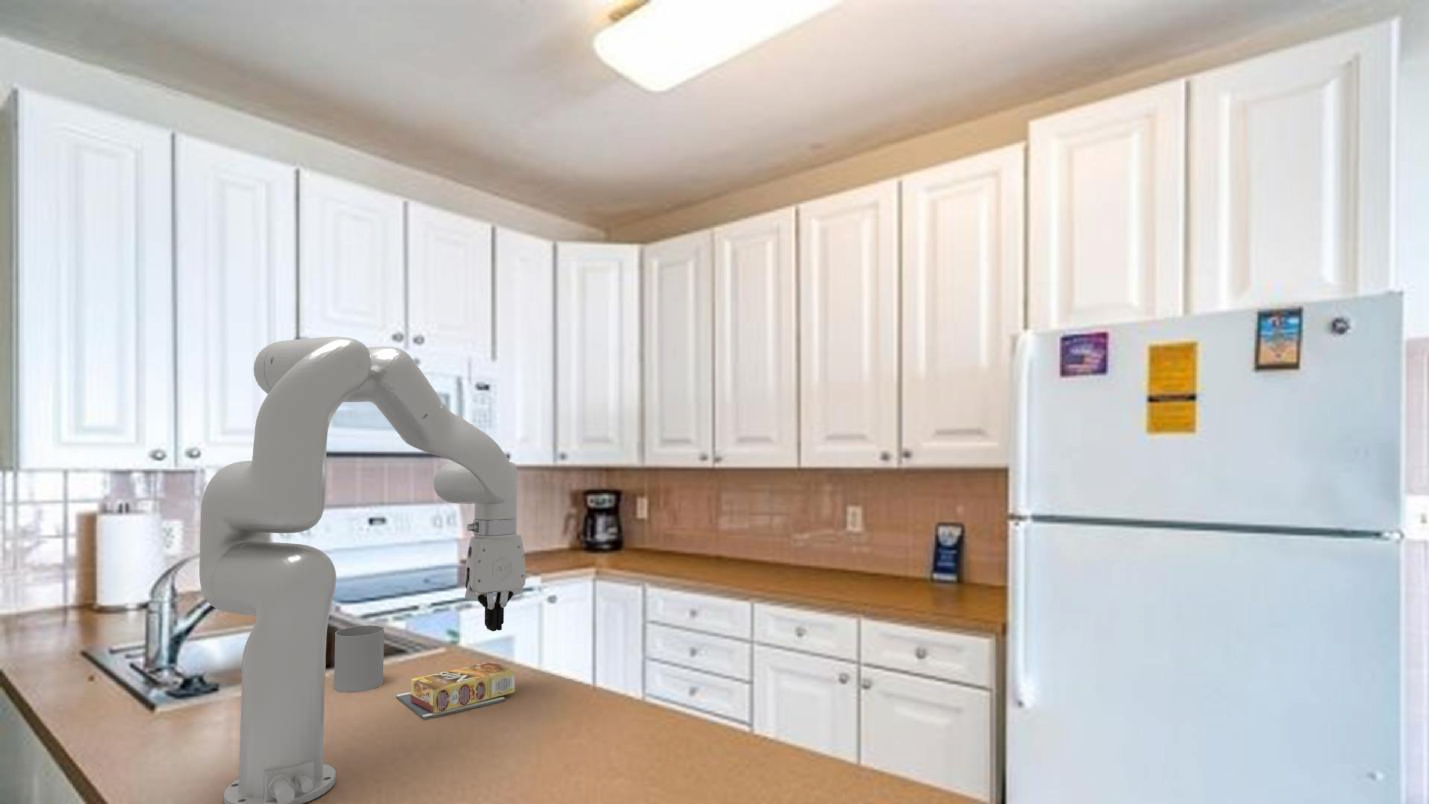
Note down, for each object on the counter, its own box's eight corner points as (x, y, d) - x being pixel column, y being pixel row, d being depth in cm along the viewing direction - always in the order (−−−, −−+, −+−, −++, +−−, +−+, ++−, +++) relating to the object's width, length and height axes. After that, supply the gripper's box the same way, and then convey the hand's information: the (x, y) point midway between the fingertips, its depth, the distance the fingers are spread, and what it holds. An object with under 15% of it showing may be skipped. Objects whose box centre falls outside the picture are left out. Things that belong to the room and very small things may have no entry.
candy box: (516, 669, 136) (433, 688, 125) (516, 693, 135) (432, 714, 125) (491, 660, 142) (410, 677, 131) (491, 683, 142) (409, 702, 131)
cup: (334, 681, 144) (336, 628, 144) (382, 676, 147) (383, 623, 148) (333, 695, 136) (334, 638, 137) (383, 688, 140) (384, 633, 140)
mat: (504, 701, 133) (505, 698, 133) (423, 719, 124) (423, 716, 124) (473, 681, 144) (473, 679, 144) (396, 697, 135) (396, 695, 135)
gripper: (463, 533, 133) (461, 640, 132) (542, 527, 142) (540, 627, 141) (447, 529, 138) (445, 632, 137) (524, 524, 148) (522, 620, 147)
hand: (494, 629), depth 139 cm, fingers closed
